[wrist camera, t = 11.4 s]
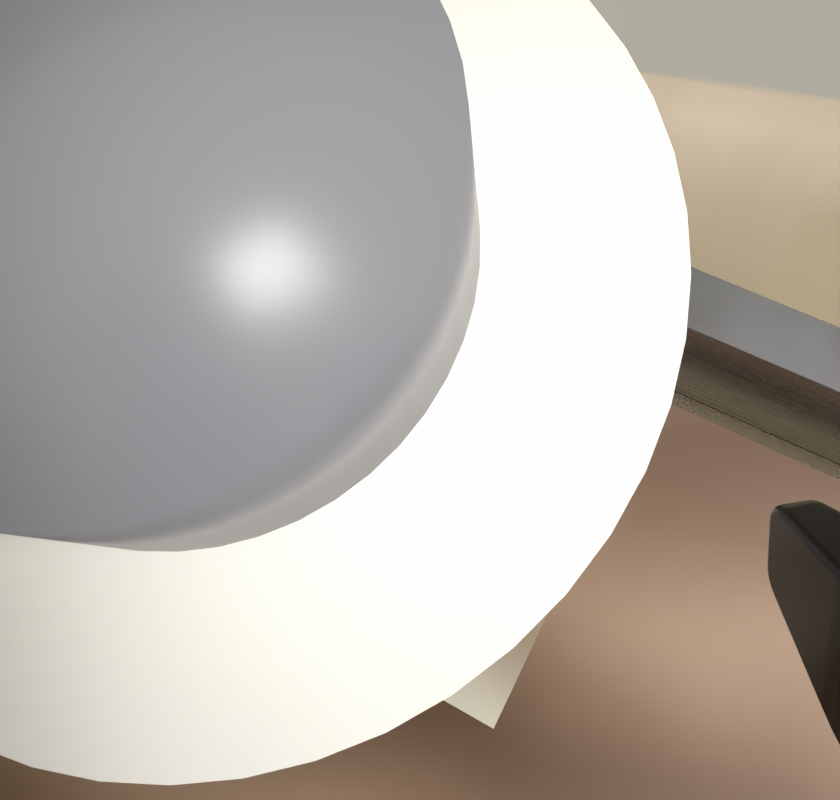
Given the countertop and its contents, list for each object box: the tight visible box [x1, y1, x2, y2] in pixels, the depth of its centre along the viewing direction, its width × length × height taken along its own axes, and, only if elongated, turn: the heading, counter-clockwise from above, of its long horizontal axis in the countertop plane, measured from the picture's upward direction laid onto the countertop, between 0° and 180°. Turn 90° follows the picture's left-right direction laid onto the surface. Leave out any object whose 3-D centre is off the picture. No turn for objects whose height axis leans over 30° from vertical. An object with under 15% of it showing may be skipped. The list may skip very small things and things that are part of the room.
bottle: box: [0, 0, 691, 785], centre depth 10 cm, size 6×6×14 cm
